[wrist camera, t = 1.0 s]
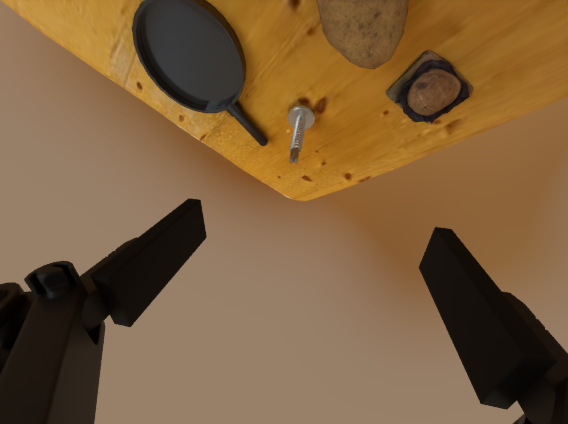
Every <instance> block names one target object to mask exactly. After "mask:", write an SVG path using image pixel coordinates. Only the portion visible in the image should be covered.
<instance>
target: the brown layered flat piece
mask: <svg viewBox="0 0 568 424" xmlns="http://www.w3.org/2000/svg"><path fill="white" fill-rule="evenodd" d="M454 68H455V67H453V66H452V65H451V64H450V62H447V61H445V60H444V59H443V58H441V57H439V56H438V55H435V53H433V52H431V51H426V52H425V53H424V55H422V56H421V58H420V59H419V60H417V61H416V63H414V65H413V66H411V68H409V69H408V71H407V72H406V73H405V74H404V75H403V76H401V77H400V78H399V79H398V81H396V83H395V84H394V85H393V86H392V87H391V88H390V89H389V90H388V91H387V92H386V94H387V96H388V97H389V98H390V99H391V100H392V101H394V102H395V103H396V104H397V105H399V106H400V107H401V108H402V109H403V112H404V113H405V114H407V115H408V116H409V118H410V119H412V121H414V122H422V121H424V122H426V123H428V124H429V123H431V124H432V123H433V121H434V120H435V119H437V118H438V117H439V116H441V115H442V114H444V113H448V112H449V111H450V110H451V109H452V108H453V107H455V106H457V105H459V104H460V103H461V102H463V101H464V100H465V99H467V98H469V94H471V93H472V91H473V87H472V85H470V84H469V82H468V81H467V82H466V79H464V77H463V75H461V74H460V73H458V72H457V71H456V70H455V69H454Z"/></svg>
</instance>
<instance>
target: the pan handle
mask: <svg viewBox="0 0 568 424" xmlns="http://www.w3.org/2000/svg"><path fill="white" fill-rule="evenodd" d="M232 100H233V99H232ZM232 100H231V101H230V102H228V104H226V105H225V107H226V106H227V108H226V110H227V112H228V113H229V114H230V115H231V116H232V117H233V116H234V117H235V119H236V120H237V121H238V122H239V123H240V124H241V125H242V126H243V127H244V128H245V129H246V130H247V131H248V132H249V133H250V134H251V135H252V136H253V137H254V139H255V140H256V141H257V142H258V143H259V144H260V145H261V146H265V145H267V143H268V140H267V138H266V137H265V136H264V135H263V134H262V133H261V132H260V131H259V130H258V128H257V127H256V126H255V125H254V124H253V123H252V122H251V121H250V120H249V119H248V117H247V116H246V115H245V114H244V113H243V112H242V111H241V109H242V107H241V106H240V105H239V104H238V103H237V102H235V104H233V105H231V104H232V103H231V102H232ZM230 103H231V104H230ZM229 104H230V105H229Z"/></svg>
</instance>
